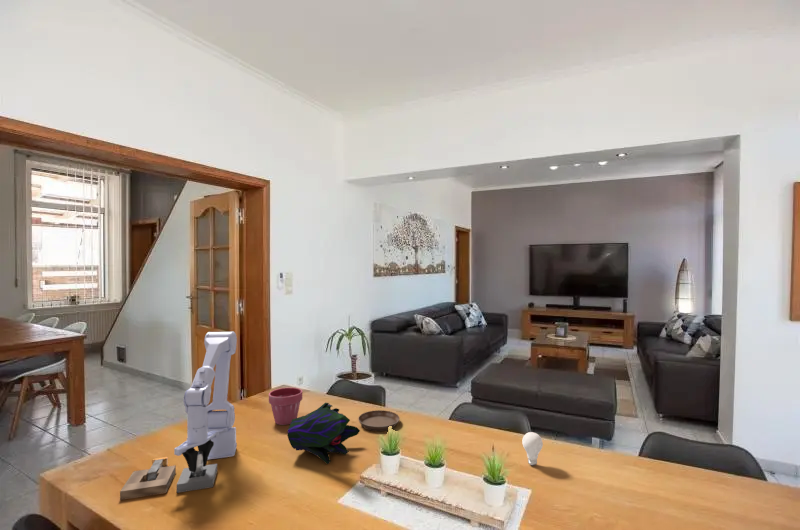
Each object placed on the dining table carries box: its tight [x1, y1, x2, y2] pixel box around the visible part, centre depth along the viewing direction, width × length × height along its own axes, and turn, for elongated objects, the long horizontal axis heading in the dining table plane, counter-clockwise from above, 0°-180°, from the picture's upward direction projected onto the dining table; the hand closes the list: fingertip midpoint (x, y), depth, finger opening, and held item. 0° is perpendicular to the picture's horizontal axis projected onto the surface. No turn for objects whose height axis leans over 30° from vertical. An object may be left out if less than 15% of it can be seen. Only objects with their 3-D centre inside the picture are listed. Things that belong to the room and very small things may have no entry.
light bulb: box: [521, 431, 544, 466], centre depth 136 cm, size 7×7×11 cm
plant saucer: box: [357, 409, 401, 432], centre depth 172 cm, size 18×18×3 cm
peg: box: [192, 451, 203, 478], centre depth 127 cm, size 3×3×8 cm
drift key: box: [148, 456, 169, 481], centre depth 132 cm, size 4×10×3 cm, turn 17°
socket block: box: [119, 465, 177, 501], centre depth 125 cm, size 12×12×2 cm
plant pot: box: [268, 387, 303, 426], centre depth 176 cm, size 14×14×13 cm
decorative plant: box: [287, 402, 361, 465], centre depth 143 cm, size 21×26×30 cm
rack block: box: [176, 463, 218, 493], centre depth 127 cm, size 10×10×2 cm
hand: (197, 468), depth 127 cm, fingers closed on peg, 3 cm apart
